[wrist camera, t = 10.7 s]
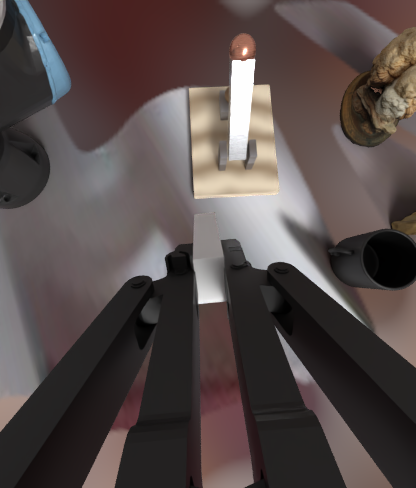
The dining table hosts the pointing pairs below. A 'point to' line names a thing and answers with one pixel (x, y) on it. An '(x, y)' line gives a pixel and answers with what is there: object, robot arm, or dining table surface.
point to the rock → (406, 225)
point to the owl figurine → (390, 100)
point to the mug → (376, 260)
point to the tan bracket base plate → (215, 146)
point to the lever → (240, 94)
